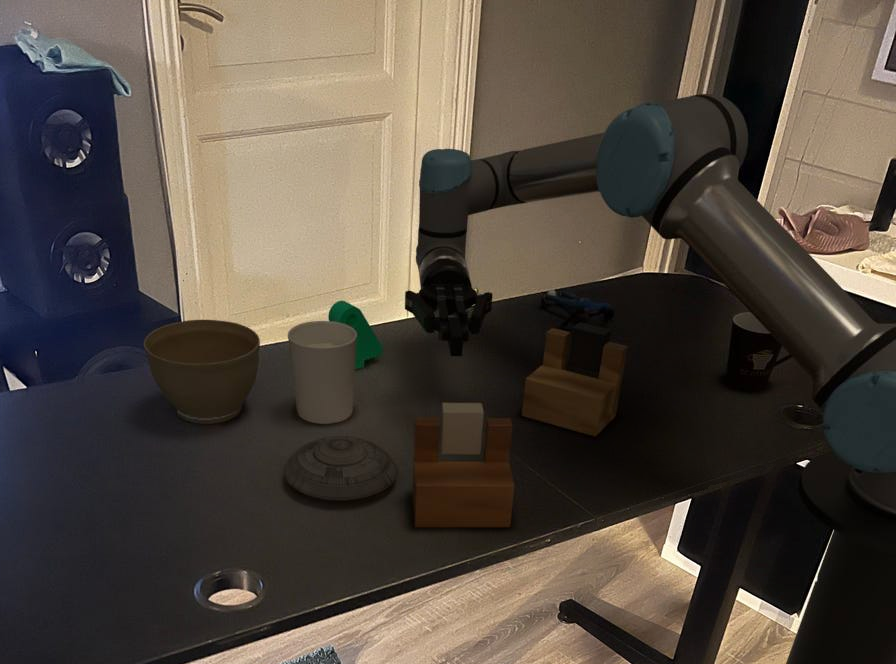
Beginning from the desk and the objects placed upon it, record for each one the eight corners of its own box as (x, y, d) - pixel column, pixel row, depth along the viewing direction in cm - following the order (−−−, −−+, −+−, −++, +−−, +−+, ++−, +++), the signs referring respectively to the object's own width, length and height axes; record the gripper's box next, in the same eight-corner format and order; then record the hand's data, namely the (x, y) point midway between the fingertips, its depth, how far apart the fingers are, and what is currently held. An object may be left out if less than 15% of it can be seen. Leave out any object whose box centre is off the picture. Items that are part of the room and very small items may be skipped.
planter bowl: (234, 444, 136) (227, 371, 129) (133, 424, 140) (121, 352, 133) (282, 397, 148) (278, 328, 141) (188, 380, 152) (179, 312, 145)
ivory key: (440, 444, 125) (442, 402, 122) (478, 444, 125) (481, 402, 122) (441, 454, 123) (443, 412, 119) (480, 454, 123) (483, 412, 120)
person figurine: (525, 318, 180) (587, 338, 167) (525, 293, 178) (588, 312, 165) (571, 308, 185) (635, 327, 172) (572, 283, 182) (637, 300, 169)
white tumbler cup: (332, 433, 140) (330, 353, 132) (278, 415, 144) (273, 336, 136) (370, 408, 146) (370, 330, 139) (318, 391, 150) (315, 315, 143)
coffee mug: (714, 388, 155) (729, 327, 149) (722, 368, 161) (736, 308, 155) (789, 402, 152) (807, 340, 146) (794, 381, 158) (812, 321, 152)
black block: (574, 359, 147) (580, 321, 144) (605, 366, 145) (611, 329, 142) (567, 365, 146) (572, 327, 142) (598, 373, 144) (604, 335, 140)
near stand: (412, 494, 127) (414, 417, 120) (503, 494, 128) (510, 418, 121) (415, 527, 121) (417, 448, 114) (510, 527, 122) (518, 449, 115)
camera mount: (355, 346, 164) (355, 285, 158) (382, 361, 159) (382, 299, 153) (295, 362, 158) (292, 299, 152) (321, 379, 154) (318, 315, 147)
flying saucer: (359, 521, 122) (358, 483, 118) (262, 488, 127) (258, 451, 124) (417, 471, 132) (418, 434, 129) (325, 442, 137) (324, 407, 134)
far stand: (543, 396, 151) (551, 327, 144) (615, 416, 147) (628, 346, 140) (521, 416, 146) (528, 345, 139) (595, 436, 141) (607, 365, 134)
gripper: (486, 308, 148) (503, 373, 130) (401, 306, 148) (406, 372, 129) (490, 258, 144) (508, 319, 125) (402, 256, 143) (408, 317, 125)
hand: (457, 346), depth 127 cm, fingers closed
